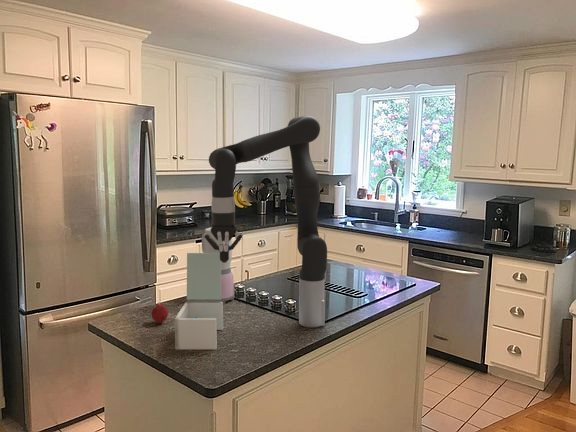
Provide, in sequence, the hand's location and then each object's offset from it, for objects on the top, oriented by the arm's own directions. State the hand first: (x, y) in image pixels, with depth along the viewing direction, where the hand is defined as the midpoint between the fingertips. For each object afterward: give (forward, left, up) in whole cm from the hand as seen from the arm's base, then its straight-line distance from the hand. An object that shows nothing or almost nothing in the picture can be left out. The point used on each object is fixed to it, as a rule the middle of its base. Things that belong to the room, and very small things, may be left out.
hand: (224, 262), depth 158 cm
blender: (+9, -42, -27) cm, 51 cm away
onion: (+26, -14, -27) cm, 40 cm away
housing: (+9, 0, -27) cm, 28 cm away
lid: (+9, -9, -8) cm, 15 cm away
